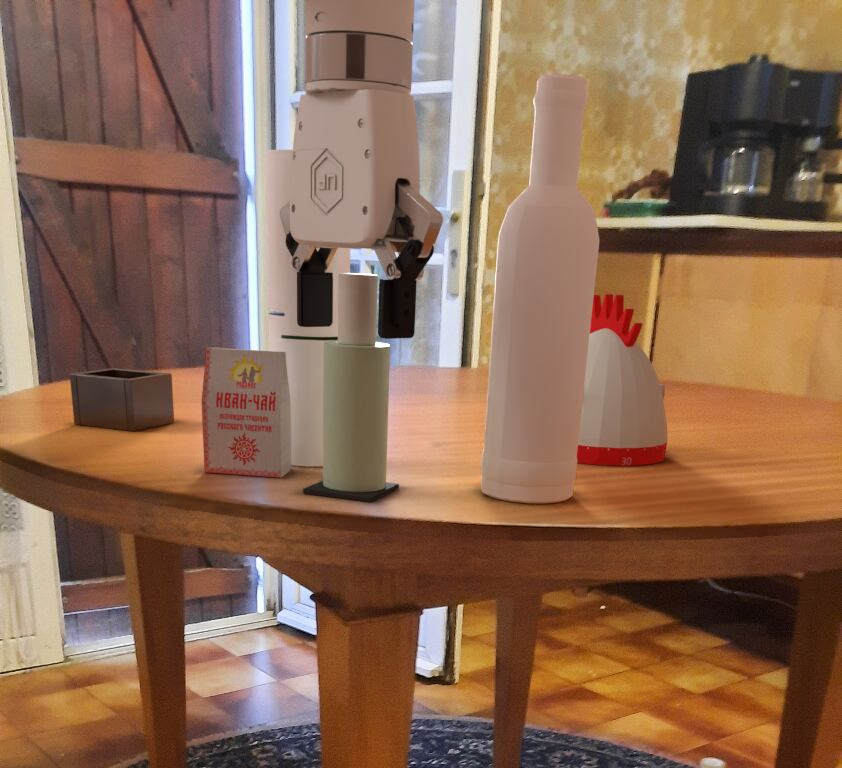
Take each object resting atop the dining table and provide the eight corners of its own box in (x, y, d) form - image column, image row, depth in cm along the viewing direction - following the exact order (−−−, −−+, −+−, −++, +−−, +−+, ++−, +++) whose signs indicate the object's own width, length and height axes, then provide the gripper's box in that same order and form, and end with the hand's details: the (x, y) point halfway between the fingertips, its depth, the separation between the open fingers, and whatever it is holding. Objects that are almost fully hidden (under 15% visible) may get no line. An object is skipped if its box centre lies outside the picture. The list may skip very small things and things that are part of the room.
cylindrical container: (314, 449, 104) (314, 157, 94) (363, 461, 100) (369, 156, 89) (255, 456, 100) (248, 150, 89) (303, 469, 95) (302, 148, 84)
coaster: (302, 493, 86) (302, 488, 86) (334, 480, 92) (334, 475, 91) (371, 502, 85) (371, 497, 84) (399, 488, 90) (399, 483, 90)
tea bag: (217, 464, 95) (212, 345, 91) (291, 469, 95) (290, 350, 91) (204, 472, 92) (199, 349, 88) (281, 477, 92) (279, 354, 87)
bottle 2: (588, 493, 91) (634, 83, 78) (548, 509, 85) (590, 67, 72) (506, 479, 95) (537, 86, 82) (461, 493, 89) (487, 71, 76)
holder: (73, 424, 111) (69, 373, 109) (116, 415, 117) (112, 367, 115) (134, 431, 109) (131, 380, 107) (174, 422, 115) (171, 373, 113)
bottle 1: (312, 487, 87) (312, 272, 80) (338, 476, 91) (341, 271, 84) (371, 495, 85) (376, 276, 78) (395, 483, 90) (402, 275, 83)
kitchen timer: (602, 437, 119) (619, 291, 112) (693, 460, 108) (717, 300, 102) (502, 444, 112) (514, 288, 105) (588, 469, 101) (608, 298, 95)
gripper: (243, 73, 79) (249, 323, 86) (402, 56, 68) (392, 344, 75) (323, 86, 83) (322, 322, 91) (483, 72, 72) (467, 341, 80)
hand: (354, 331), depth 83 cm, fingers open, 9 cm apart
